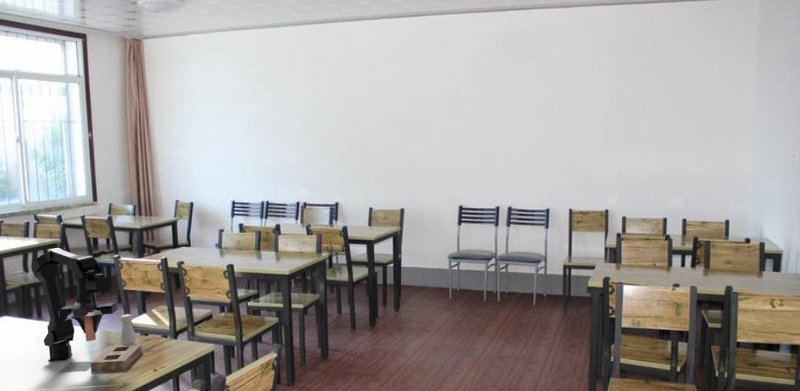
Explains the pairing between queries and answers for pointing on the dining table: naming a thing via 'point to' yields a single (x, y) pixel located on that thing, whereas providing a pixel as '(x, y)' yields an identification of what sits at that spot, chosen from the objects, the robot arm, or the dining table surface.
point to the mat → (76, 367)
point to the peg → (89, 327)
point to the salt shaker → (127, 331)
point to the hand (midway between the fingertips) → (90, 332)
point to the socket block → (116, 357)
